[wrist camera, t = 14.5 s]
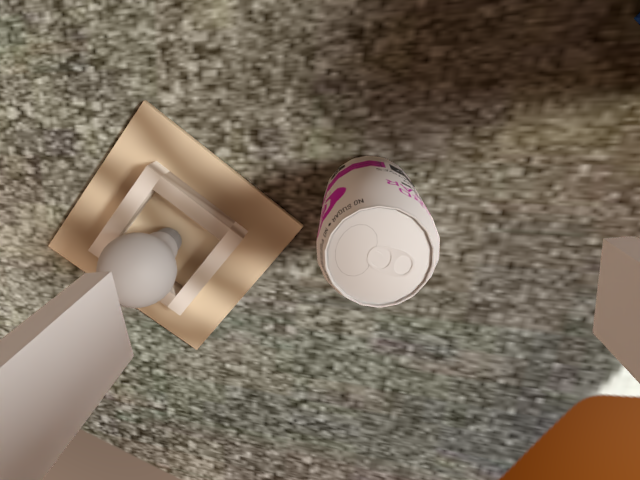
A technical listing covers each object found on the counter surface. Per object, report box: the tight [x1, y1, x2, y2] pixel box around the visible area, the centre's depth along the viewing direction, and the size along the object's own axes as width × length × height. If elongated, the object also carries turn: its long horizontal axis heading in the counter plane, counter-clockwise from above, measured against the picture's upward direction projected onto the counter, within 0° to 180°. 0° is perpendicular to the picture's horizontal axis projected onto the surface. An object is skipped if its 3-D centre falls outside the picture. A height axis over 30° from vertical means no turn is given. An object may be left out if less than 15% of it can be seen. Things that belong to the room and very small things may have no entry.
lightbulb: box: [96, 228, 182, 308], centre depth 41 cm, size 6×6×11 cm
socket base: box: [48, 100, 303, 350], centre depth 45 cm, size 18×18×3 cm
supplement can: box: [316, 155, 440, 308], centre depth 37 cm, size 8×8×15 cm
